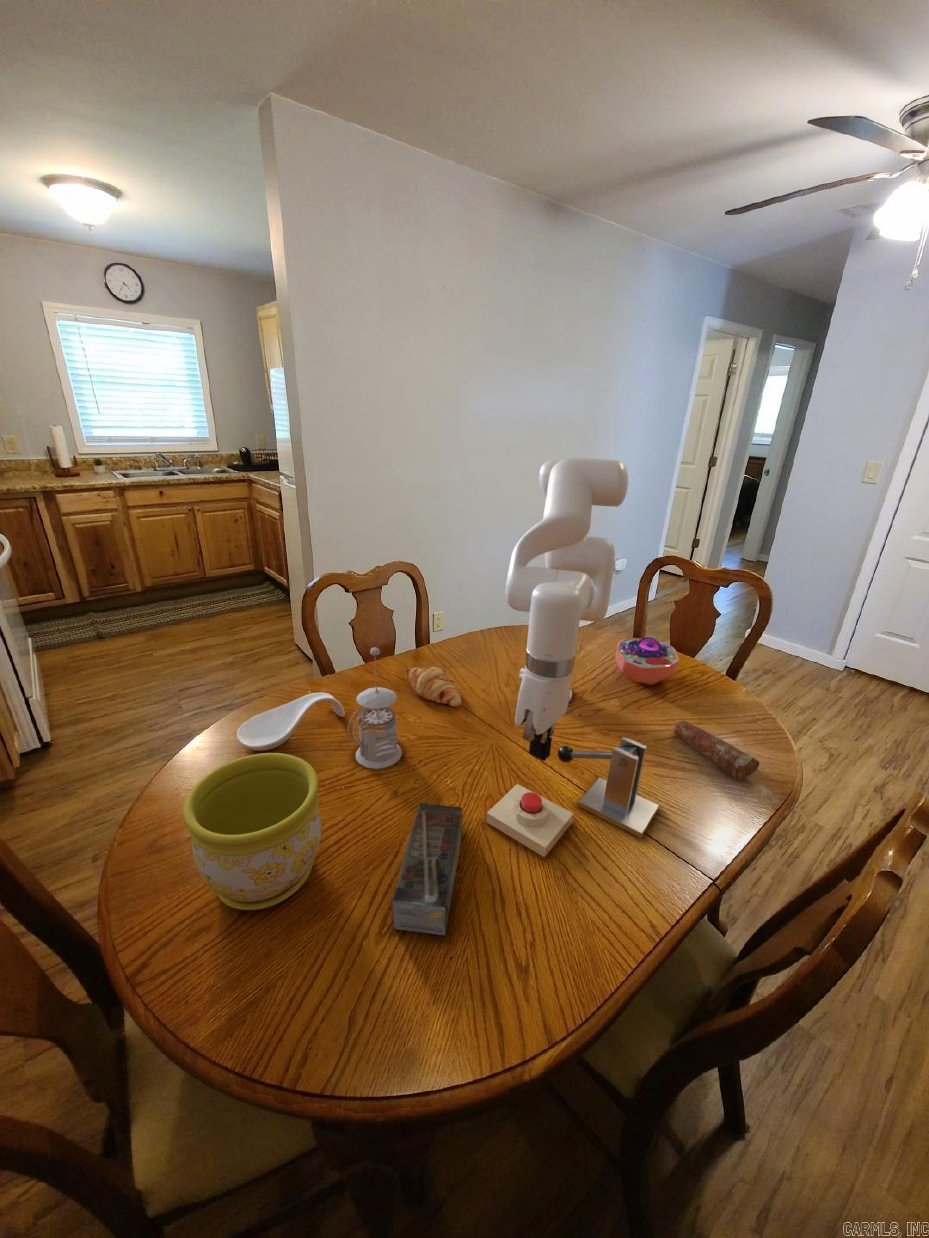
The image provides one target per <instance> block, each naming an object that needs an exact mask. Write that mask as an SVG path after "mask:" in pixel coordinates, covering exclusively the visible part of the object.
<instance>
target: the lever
mask: <svg viewBox="0 0 929 1238" xmlns="http://www.w3.org/2000/svg"><path fill="white" fill-rule="evenodd" d="M621 750H624V751H626V752H628V753H631V754H633V755H635V756H638V757H639V755H638V752H637V748H636V747H621ZM611 756H612V751H599V750H598V751H596V750H595V751H594V750H593V751H592V750H574V749H573V748H572V747H571V746H569V745H562V746H560V747H559V748H558V750H557V758H558V759H559V760H560V761H561V762H562V763H567V764H568V763H570V762H572V761H573V760H574V759H592V760H611ZM639 760H640V759H639ZM639 760H638V761H639Z"/></svg>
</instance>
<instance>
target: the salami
mask: <svg viewBox="0 0 929 1238" xmlns="http://www.w3.org/2000/svg"><path fill="white" fill-rule="evenodd" d="M673 733H674V734H675V735H676V736H677V737H679V738H680V739H681V740H683V741H684V742H686V744H688V745H689V746H691V747H692V748H693V749H694V750H696V751H697V752H699V753H700V754H701V755H703V756H704V757H706V759H709V760H710V761H711V762H712V763H714V764H715V765H717V766H718V767H719V768H721V769H722V770H723V771H724V772H725V773H727V774H729V775H730V776H731V777H733V778H734V779H736V780H737V781H742V780H743V778H747V777H749V776H751V775H752V774H753V773H755V772H756V771H757V770H758V769H759V766H760V761H759V760H758V759H756V758H755V757H753V756H752V755H751V754H750V753H749V754H748V753H747V752H746V751H743V750H742V749H739V748H738V747H736V746H734V745H732V744H731V743H729V742H727V741H725V740H724V739H722V738H720V737H717V736H715V735H713V734H712V733H710V732H709V731H706V730H705V729H703V728H700V727H699V726H697V725H694V724H692V723H691V722H688V721H686V720H680V721H678V722H677V723H676V724H675V726H674V727H673Z"/></svg>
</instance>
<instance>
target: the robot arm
mask: <svg viewBox="0 0 929 1238" xmlns="http://www.w3.org/2000/svg"><path fill="white" fill-rule="evenodd" d="M538 475H539V476H538V478H539V487H540V491H541V494H542V496H543V500H544V502H545V503H544V510H543V516H542V519H541V520H540V521H539V522H537V523H536V524H535V525H533V526H532V527H530V528H529V529H528V530H526V532H525V533H524V534H523V535H522V536H521V537H520V538H519V540H518V541H517V543H516V544H515V546H514V548H513V549H512V552H511V556H510V560H509V565H508V571H507V576H506V582H505V590H504V591H505V592H504V593H505V600H506V603H507V604H508V606H509V608H511V609H513V610H515V611H518V612H524V613H525V612H526V613H529V617H528V619H529V620H528V631H527V640H526V641H527V642H526V651H525V662H524V668H523V667H521V668H519V669H520V670H519V675H518V679H520V680H521V683H520V687H519V691H518V696H517V701H516V709H515V716H514V717H515V718H514V723H515V726H517V727H521V726H522V725H524V727H523V732H522V739H523V740H525V741H527V742H529V746H528V747H529V748H528V754H529V755H530V756H533V757H534V758H536V759H539V760H541V761H542V762H545V761H546V760H547V759H548V758H549V757H550V756H551V750H552V742H553V741H552V740H553V736H554V734H555V729H556V723H557V721H559V720H560V719H561V718H562V717H563V716H564V715H565V713H566V712H567V710H568V707H569V702H570V701H571V700H572V697H573V691H572V689H571V683H572V676H573V673H574V667H575V659H576V652H577V645H578V644H577V643H578V636H579V628H580V622H581V621H583V622H599V621H602V620H603V619H604V618H605V617H606V615H607V613H608V608H609V603H610V598H611V590H612V583H613V578H614V570H615V563H616V561H615V560H616V549H615V545H614V543H613V541H611V540H610V539H608V538H605V537H599V536H588V534H589V532H590V529H591V522H592V521H591V520H592V508H593V506H599V507H613V508H617V507H619V506H620V505H622V504H623V502H624V501H625V498H626V496H627V493H628V489H629V488H628V487H629V473H628V469H627V466H626V465H625V464H624V463H623V462H622V461H620V460H616V459H603V458H602V459H601V458H584V457H569V458H564V459H554V460H553V459H552V460H548V461H546V462H544V463H543V464H542V465H541V467H540V469H539V474H538ZM543 554H544V564H545V567H540V566H539V567H538V566H527V565H528V564H529V563H530V562H531V561H532V560H534V559H535V558H538V556H540V555H543Z"/></svg>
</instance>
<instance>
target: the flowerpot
mask: <svg viewBox="0 0 929 1238" xmlns="http://www.w3.org/2000/svg"><path fill="white" fill-rule="evenodd" d="M319 785H320V784H319V778H318V775H317V772H316V770H315V769H314V767H312V765H311V764H309V762H307V761H306V760H305V759H302V758H300V757H298V756H295V755H292V754H287V753H281V752H264V753H256V754H251V755H246V756H242V757H239V758H237V759H233V760H231V761H229V762H226V763H225V764H222V765H220V766H219V767H217V768H214V770H212V771H210V772H208V773H207V774H206V775H204V776H203V777H202V778H201V779H200V780H199V781H198V782H197V783H196V784H195V785H194V786H193V788H192V789H191V790H190V792H189V793H188V794H187V797H186V799H185V801H184V804H183V811H182V812H183V813H182V815H183V821H184V824H185V826H186V828H187V830H188V831H189V835H190V837H191V850H192V856H193V860H194V864H195V867H196V870H197V872H198V874H199V876H200V878H201V879H202V881H203V882H204V883H205V885H207V887H208V888H209V889H211V890H212V891H213V892H214V893H216V895H217V897H218V899H220V901H221V902H222V903H224V904H225V905H227V906H229V907H230V908H233V909H237V910H243V911H256V910H257V911H258V910H264V909H269V908H271V907H274V906H276V905H278V904H280V903H282V902H284V901H285V900H287V899H288V898H290V897H291V896H292V895H293V894H295V893H296V892H297V891H298V890H299V889H300V888H301V887H302V886H303V885H304V883H305V882H306V881H307V879H308V878H309V876H310V874H311V872H312V869H313V865H314V860H315V858H316V856H317V853H318V851H319V847H320V843H321V839H322V828H323V827H322V826H323V825H322V816H321V815H322V814H321V809H320V805H319V802H318V801H319V799H318V797H319V795H318V793H319Z"/></svg>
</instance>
